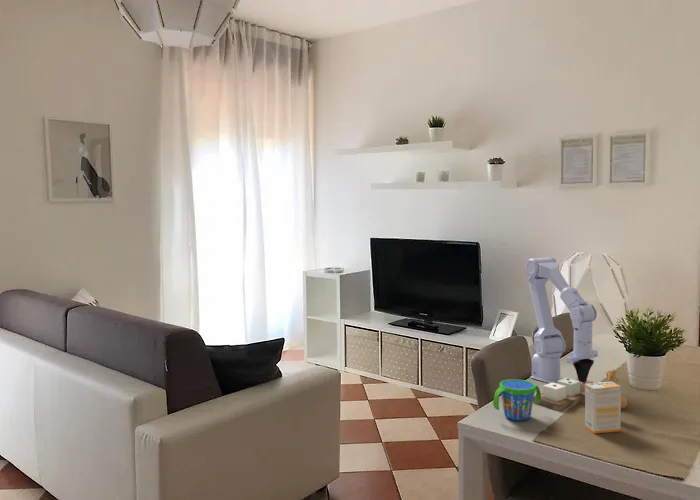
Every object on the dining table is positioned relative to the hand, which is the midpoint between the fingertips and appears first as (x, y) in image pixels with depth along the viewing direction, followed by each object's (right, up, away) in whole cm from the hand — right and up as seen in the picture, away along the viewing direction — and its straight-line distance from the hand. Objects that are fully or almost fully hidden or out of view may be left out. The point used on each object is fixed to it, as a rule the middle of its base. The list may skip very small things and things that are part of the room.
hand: (582, 381), depth 193 cm
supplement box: (-6, -7, -30) cm, 31 cm away
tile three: (0, -4, 0) cm, 4 cm away
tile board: (-6, -5, -4) cm, 9 cm away
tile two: (-6, -3, -4) cm, 8 cm away
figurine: (+5, -6, -13) cm, 15 cm away
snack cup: (-27, -7, -19) cm, 34 cm away
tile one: (-12, -4, -8) cm, 15 cm away
